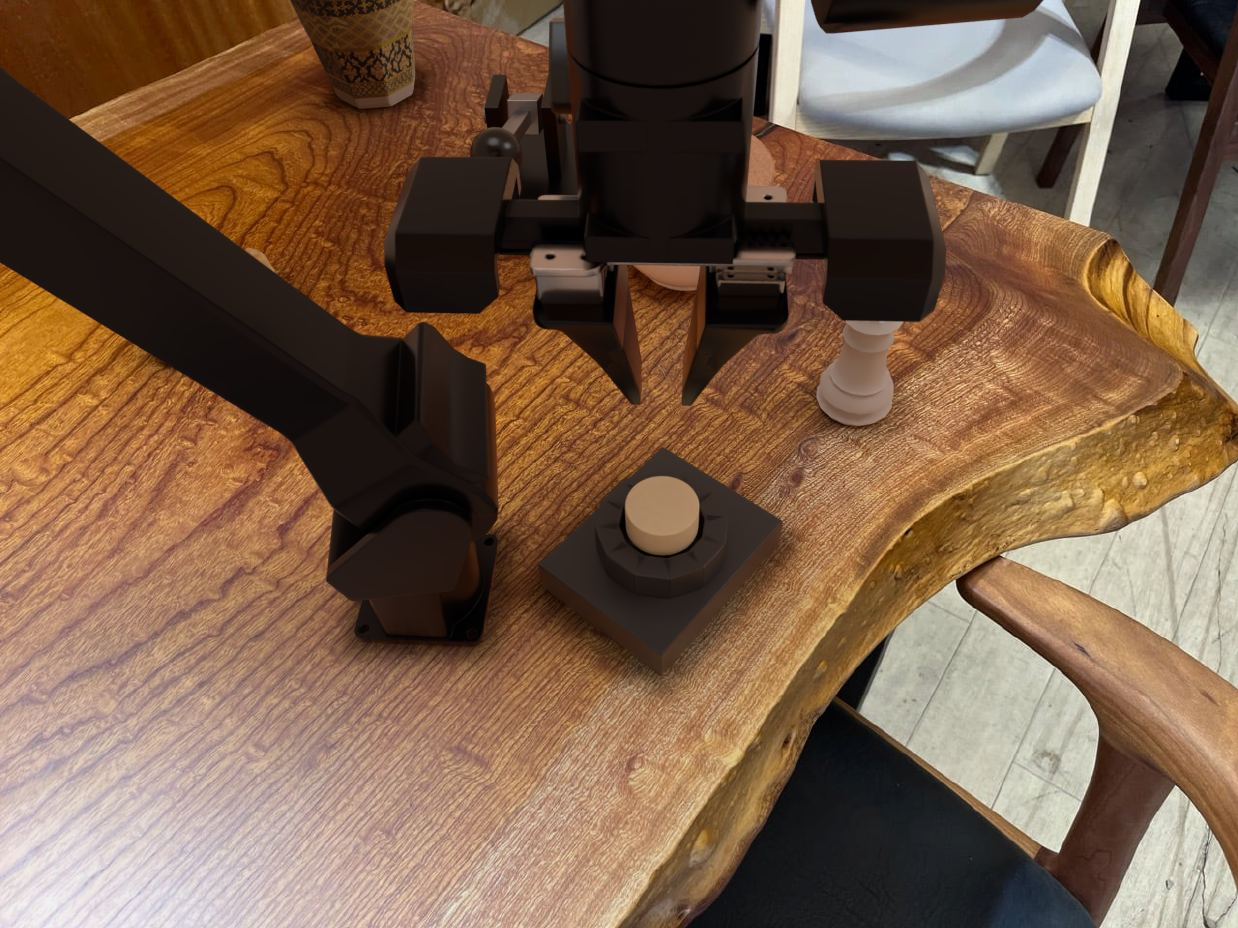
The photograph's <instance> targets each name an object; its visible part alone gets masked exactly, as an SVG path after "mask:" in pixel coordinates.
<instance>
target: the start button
mask: <svg viewBox="0 0 1238 928" xmlns="http://www.w3.org/2000/svg"><path fill="white" fill-rule="evenodd" d="M625 520H626V531H627V534H628V537H629V539H630V540H631V541H632V543H633V544H634V545H635V546H636V547H638V548H639V549H641V550H642V551H644V552H646V553H649V554H653V555H661V556H662V555H671V554H675V553H678V552H680V551H682V550H684V549H685V548H687V547H688V546H689V545H690V544H691V543H692V542H693V541H694V539H695V537H696V535H697V532H698V523H699V500H698V497H697V495H696V493H695V492H694V490H693V489H692V488H691V487H690V486H689V485H688V484H686V483H685V482H683V481H681V480H679V479H676V478H673V477H668V476H656V477H651V478H648V479H645V480H643V481H641V482H639V483H638V484H636V485H635V486H634V487H633V488H632V489H631V490H630V492H629V493H628V495H627V498H626V501H625Z"/></svg>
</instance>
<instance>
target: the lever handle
mask: <svg viewBox="0 0 1238 928" xmlns="http://www.w3.org/2000/svg"><path fill="white" fill-rule="evenodd" d="M543 96H544V92H512V93H511V95H509V98H508V100H507V113H508V121H507V122H506V123H505V125H504V126H503V127H502V128H500V127H491V128H487V127H486V128H485V129H483V130H481V131H480V132H479V133H477V135H476V136H475V137H474V139H473V140H472V142H471V144H470V150H469V153H470V154H469V157H512V158H513V159H514V160H515V162H516V163H517V164H518V168H520V166H521V163H522V148H521V145H520V143H519V142H520V140H521V139H522V137H523V136H524V135H539V134H540V133H541V131H542V129H543V122H542V113H541V105H542V100H543Z"/></svg>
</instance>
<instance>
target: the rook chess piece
mask: <svg viewBox="0 0 1238 928" xmlns="http://www.w3.org/2000/svg"><path fill="white" fill-rule="evenodd" d="M845 323H846V324H845V326H844V327H843V329H842V337H843V339H844V340H843V341H844V342H843V345H842V348H841V349H840V352H839V355H838V357H836V358H835V359H834V360H833V362H832V363H830V364H829V365H828V366H827V367H826V369H825V370H823V372H822V374H821V376H820V378H819V384H818V386H817V388H816V400H817V402H818V405H819V407H820V409H821V410H822V411H823V412H824V413H825V414H826V415H827V416H828V417H829V418H831V419H832V420H833V421H835V422H837V423H840V424H842V425H844V426H853V427H863V426H867V425H868V426H869V425H872V424H875V423H877V422H879V421H881V420H882V419H884V418H886V417H887V415H888V414H889V412H890V410H891V409H892V408H893V407H892V406H893V398H894V393H895V392H894V390H895V386H894V381H893V379H892V377H891V374H890V370H889V369H888V367H887V357H888V350H889V348H891V346H892V345H893V344H894V342H895V332H896V331H897V330H899V329H900V328H901V326H902V325H903V323H904V322H894V321H845Z"/></svg>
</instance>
